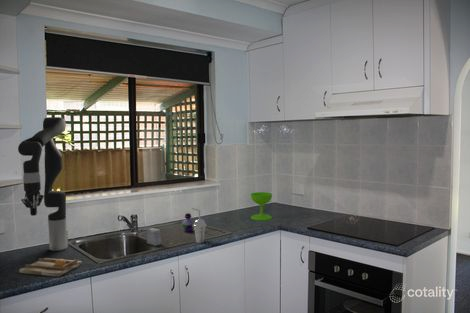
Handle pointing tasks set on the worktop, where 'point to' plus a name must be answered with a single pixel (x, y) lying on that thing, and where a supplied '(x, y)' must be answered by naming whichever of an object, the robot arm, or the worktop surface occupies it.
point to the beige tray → (49, 267)
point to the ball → (60, 263)
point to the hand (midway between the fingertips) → (33, 215)
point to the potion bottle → (188, 223)
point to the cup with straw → (199, 228)
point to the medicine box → (153, 236)
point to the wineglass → (261, 204)
